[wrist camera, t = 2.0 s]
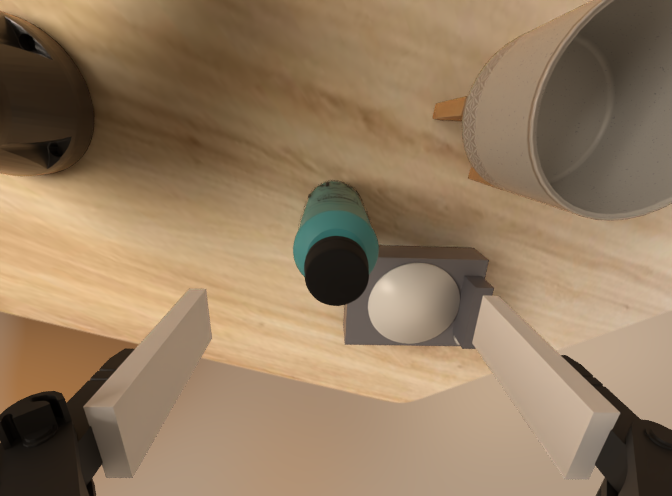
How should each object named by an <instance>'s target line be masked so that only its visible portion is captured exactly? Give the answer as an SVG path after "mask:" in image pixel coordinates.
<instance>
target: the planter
mask: <svg viewBox="0 0 672 496" xmlns="http://www.w3.org/2000/svg"><path fill="white" fill-rule="evenodd" d="M433 119H438V120H457V121H462V138H463V144H464V149H465V152H466V155H467V157H468V159H469V161H470V163H471V165H472V167H471V169H470V173H469V176H468V178H469V179H472V180H475V181H478V182H481V183H484V184H486V185H489V186H492V187H495V188H498V189H501V190H505V191H508V192H511V193H514V194H517V195H520V196H523V197H526V198H529V199H532V200H535V201H538V202H541V203H544V204H547V205H550V206H553V207H556V208H559V209H562V210H565V211H568V212H571V213H574V214H577V215H580V216H583V217H587V218H591V219H596V220H611V221H612V220H623V219H630V218H634V217H639V216H643V215H646V214H649V213H651V212H654V211H657V210H660V209H662V208H664V207H666V206H668V205H670V204H672V0H592V1H590V2H588V3H586V4H584V5H582V6H580V7H578V8H576V9H574V10H572V11H570V12H568V13H566V14H564V15H562V16H560V17H558V18H556V19H554V20H552V21H550V22H547V23H545V24H543V25H541V26H539V27H537V28H535V29H533V30H531V31H529V32H527V33H525V34H523V35H521V36H519V37H517V38H516V39H514V40H512V41H511V42H509V43H508V44H506V45H505V46H504V47H503V48H501V49H500V50H499V51H498V52H497V53H496V54H495V55H494V56H493V57H492V58H491V59H490V60H489V61H488V62H487V63H486V65H485V66H484V67H483V69H482V70H481V71H480V73H479V74H478V76H477V78H476V80H475V81H474V83H473V85H472V87H471V89H470V92H469V94H468V96H465V97H461V98H457V99H453V100H449V101H445V102H441V103H437V104H436V105H435V109H434V114H433Z"/></svg>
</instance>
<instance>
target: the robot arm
mask: <svg viewBox="0 0 672 496" xmlns="http://www.w3.org/2000/svg"><path fill="white" fill-rule="evenodd" d="M93 127H94V113H93V106H92V101H91V97H90V94H89V91H88V88H87V86H86V83H85V81H84V79H83V77H82V75H81V73H80V71H79V70H78V68H77V66H76V65H75V63H74V62H73V61H72V59H71V58H70V57H69V55H68V54H67V53H66V52H65V51H64V49H63V48H62V47H61V46H60V45H59V44H58V43H57V42H56V41H54V40H53V39H52V38H51V37H50V36H49V35H47V34H46V33H45V32H43V31H42V30H41V29H39V28H38V27H36V26H34V25H33V24H31V23H29V22H27V21H25V20H23V19H21V18H18V17H16V16H13V15H10V14H8V13H5V12H2V11H0V173H1V174H7V175H13V176H36V175H43V174H49V173H55V172H59V171H62V170H64V169H66V168H68V167H70V166H72V165H73V164H74V163H76V162H77V161H78V160H79V159H80V158H81V157H82V156H83V154H84V153H85V151H86V150H87V148H88V146H89V143H90V141H91V138H92V133H93ZM211 339H212V334H211V326H210V317H209V309H208V301H207V293H206V289H190V288H189V289H188V291H187V292H186V293H185V294H184V295H183V296H182V297H181V298H180V299H179V301H178V302H177V303H176V304H175V305H174V306H173V307H172V308H171V310H170V311H169V312H168V313H167V314H166V315H165V316H164V317H163V318H162V320H161V321H160V322H159V323H158V324H157V325H156V326H155V327H154V328H153V330H152V331H151V332H150V333H149V334H148V335H147V336H146V337H145V339H144V340H143V341H142V342H141V343H140V344H139V345H138V346H137V347H136V349H124V350H122V351H121V352H119V353H118V354H116V355H114V356H113V357H111V358H110V359H109V360H108V361H107V362H106V363H105V364H104V365H103V366H102V367H101V368H100V371H97V372H96V373H95V375H93V376H92V377H91V379H90V381H87V382H86V384H85V385H84V386H83V387H82V388H81V389H80V390H79V391H78V392H77V393H76V394H75V395H74V396H73V397H72V398H71V399H70V400H69V401H68V402H67V403H66V401H65V398H64V397H63V395H62V393H59V392H56V391H48V392H41V393H38V394H34V395H31V396H29V397H26V398H24V399H22V400H20V401H18V402H16V403H15V404H13V405H11V406H10V407H8V408H7V409H6V410H5V411H3V413H2V414H0V441H1V443H0V496H96V491H95V485H94V482H93V479H92V478H93V476H94V475H95V473H96V472H97V470H98V469H99V467H100V466H101V464H102V466H103V469H104V472H105V475H106V477H107V478H133V476H134V475H135V473H136V471H137V469H138V467H139V466H140V464H141V462H142V460H143V459H144V457H145V455H146V453H147V452H148V450H149V448H150V446H151V445H152V443H153V441H154V439H155V437H156V436H157V434H158V432H159V431H160V429H161V427H162V425H163V424H164V422H165V420H166V418H167V417H168V415H169V413H170V411H171V410H172V408H173V406H174V404H175V402H176V400H177V399H178V397H179V395H180V394H181V392H182V390H183V388H184V387H185V385H186V383H187V381H188V380H189V378H190V376H191V374H192V373H193V371H194V369H195V367H196V366H197V364H198V362H199V360H200V359H201V357H202V355H203V353H204V352H205V350H206V348H207V346H208V345H209V343H210V341H211ZM472 344H473V345H474V347H475V348H476V350H477V351H478V353H479V354H480V355H481V357H482V358H483V360H484V361H485V363H486V364H487V366H488V367H489V369H490V370H491V372H492V373H493V375H494V376H495V378H496V379H497V380H498V382H499V383H500V385H501V386H502V388H503V389H504V391H505V392H506V394H507V395H508V397H509V398H510V400H511V401H512V403H513V404H514V405H515V407H516V408H517V410H518V411H519V413H520V414H521V416H522V417H523V418H524V420H525V422H526V423H527V424H528V426H529V428H530V429H531V430H532V432H533V433H534V435H535V436H536V438H537V439H538V441H539V442H540V443H541V445H542V447H543V448H544V449H545V451H546V453H547V454H548V456H549V457H550V458H551V460H552V461H553V463H554V464H555V466H556V467H557V469H558V470H559V472H560V473H561V475H562V476H563V477H564V479H589V478H590V476H591V473H592V471H593V469H594V467H595V465H596V467H597V468H598V469H599V470H600V472H601V473H602V474H603V475H604V476H605V479H604V480H603V483H602V484H601V486H600V489H599V490H598V492H597V494H596V496H672V430H670V429H668V428H666V427H664V426H662V425H660V424H658V423H655V422H652V421H649V420H641V419H640V418H639V417H637V416H636V415H635V414H634V413H633V412H632V411H631V410H630V409H629V408H628V407H627V406H626V405H624V404H623V403H622V402H621V401H620V400H619V399H618V398H617V397H616V396H615V395H613V394H612V393H611V392H610V391H609V390H608V389H607V388H606V387H603V384H602V383H601V382H599V381H598V380H597V379H596V378H593V375H592V374H591V373H589V372H588V371H587V370H586V369H585V368H584V367H583V366H582V365H581V364H579V363H578V362H576V361H574V360H573V359H571V358H569V357H568V356H566V355H560V354H559V353H558V352H557V351H556V350H555V349H554V348H553V347H551V346H550V345H549V344H548V343H547V342H546V341H545V340H544V339H543V338H542V337H541V336H540V335H539V334H538V333H537V332H536V331H535V330H534V329H533V328H532V327H531V326H530V325H529V324H528V323H526V322H525V321H524V320H523V319H522V318H521V317H520V316H519V315H518V314H517V313H516V312H515V311H514V310H513V309H512V308H511V307H510V306H509V305H508V304H507V303H506V302H505V301H504V300H503V299H502V298H500V297H499V296H487V295H483V298H482V302H481V306H480V311H479V315H478V320H477V324H476V328H475V333H474V337H473V341H472Z"/></svg>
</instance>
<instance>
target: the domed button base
mask: <svg viewBox="0 0 672 496" xmlns="http://www.w3.org/2000/svg"><path fill="white" fill-rule="evenodd" d="M488 262H489V260H488V259H487V258H485V257H484V256H483V255H482V254H480V253H479V252H478V251H477V250H475V249H474V248H457V247H420V246H383V245H379V254H378V259H377V262H376V265H375V267H374V269H373V270H372V272H371V273H370V274H369V281H368V284H367V287H366V289H365V291H364V292H363V294H362V295H361V296H360V297H359V298H358V299H356V300H355V301H353V302H351V303H349V304H346V305H344V322H343V328H344V341H345V344H347V345H415V346H461V347H462V349H476V348H475V347H474V345H473V344H472V341H473V337H474V333H475V328H476V324H477V320H478V315H479V311H480V306H481V302H482V298H483V295H487V296H492V294H493V290H494V288H493V287H492V286H491V285H490V284H489V283H488V282H487V281H486V280H485V275H486V271H487V266H488Z"/></svg>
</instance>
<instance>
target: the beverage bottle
mask: <svg viewBox="0 0 672 496" xmlns="http://www.w3.org/2000/svg"><path fill="white" fill-rule="evenodd" d="M329 181H330V180H329ZM338 181H339V180H338ZM338 181H330V182H328V181H327V182H326V181H325V182H326V183H323V184H321V183H320V184H321V185H319V186H318V187H317V188H316V189H314V191H313V192H312V191H311V192H312V193H311V194H310V195H308V198H309V199H308V202H307V205H306V208H305V209H304V210H305V211H304V214H303V217H302V220H301V224H300V228H298V229H299V231H298V232H297V235H296V237H295V240H294V246H293V255H294V260H295V263H296V265H297V268H298V269H299V271H300V272H301V274H302V275H303V276H304V277H305V282H306V286H307V288H308V290H309V291H310V293H311V294H312V295H313V296H314V297H315V298H316V299H317V300H318V301H320V302H322V303H324V304H327V305H333V306H341V305H346V304H349V303H351V302H353V301H355V300H356V299H358V298H359V297H360V296H361V295H362V294H363V292H364V291H365V289H366V287H367V284H368V281H369V274H370V273H371V272H372V270H373V269H374V267H375V265H376V262H377V259H378V254H379V245H378V240H377V237H376V234H375V232H374V230H373V229H372V227H371V225H370V220H369V219H368V216H367V214H366V212H365V209H364V207H363V205H362V203H363V202H362V203H361V200H362V199H361V200H360V198H359V197H360V196H358V195H359V194H357V193H358V192H357V190H356V191H355V190H354V189H353V188H352V187H350V186H349V184H348V185H347V183H346V184H345V183H342V182H338ZM356 192H357V193H356ZM302 212H303V211H302ZM301 216H302V215H301ZM300 218H301V217H300ZM370 219H371V218H370ZM371 223H372V222H371Z"/></svg>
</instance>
